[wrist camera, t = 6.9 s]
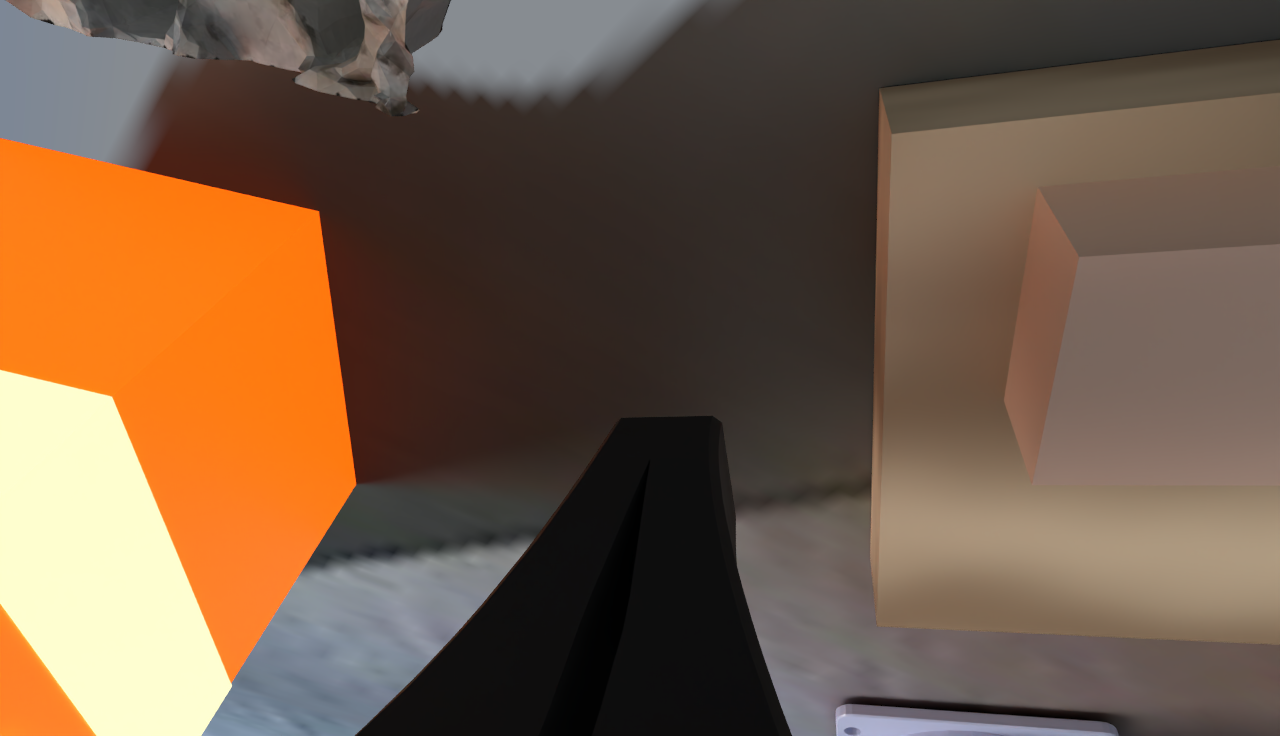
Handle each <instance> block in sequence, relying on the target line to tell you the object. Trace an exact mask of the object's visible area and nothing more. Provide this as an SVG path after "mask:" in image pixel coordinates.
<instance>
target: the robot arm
mask: <svg viewBox="0 0 1280 736" xmlns="http://www.w3.org/2000/svg"><path fill="white" fill-rule="evenodd" d="M355 736H792V735H791V732H790V729H789V727H788V724H787V721H786V719H785V716H784V714H783V711H782V708H781V705H780V703H779V700H778V697H777V694H776V691H775V688H774V686H773V683H772V680H771V677H770V674H769V671H768V669H767V666H766V663H765V660H764V657H763V654H762V651H761V648H760V645H759V641H758V638H757V635H756V632H755V629H754V625H753V622H752V619H751V615H750V612H749V609H748V605H747V602H746V598H745V595H744V591H743V588H742V584H741V580H740V577H739V573H738V569H737V561H736V515H735V508H734V501H733V495H732V488H731V481H730V474H729V467H728V460H727V454H726V447H725V440H724V433H723V426H722V422H720V421H719V420H717V419H716V418H715V417H713V416H688V417H642V418H621V419H620V420H619V421H618V422H617V423H616V424H615V425H614V426H613V428H612V429H611V431H610V432H609V434H608V436H607V437H606V439H605V440H604V442H603V443H602V445H601V446H600V448H599V449H598V451H597V452H596V454H595V455H594V457H593V458H592V460H591V461H590V463H589V464H588V466H587V467H586V469H585V470H584V472H583V473H582V474H581V476H580V477H579V479H578V480H577V482H576V483H575V484H574V486H573V487H572V489H571V490H570V492H569V493H568V495H567V496H566V497H565V499H564V500H563V502H562V503H561V504H560V506H559V507H558V508H557V510H556V511H555V512H554V514H553V515H552V516H551V518H550V519H549V520H548V522H547V523H546V525H545V526H544V527H543V529H542V530H541V531H540V533H539V534H538V535H537V537H536V538H535V539H534V541H533V542H532V543H531V545H530V546H529V547H528V549H527V550H526V551H525V552H524V554H523V555H522V556H521V557H520V559H519V560H518V561H517V562H516V564H515V565H514V566H513V567H512V568H511V570H510V571H509V572H508V573H507V575H506V576H505V577H504V578H503V579H502V581H501V582H500V583H499V584H498V586H497V587H496V588H495V589H494V590H493V592H492V593H491V594H490V595H489V597H488V598H487V599H486V600H485V601H484V603H483V604H482V605H481V606H480V607H479V609H478V610H477V611H476V612H475V613H474V614H473V615H472V616H471V618H470V619H469V620H468V621H467V622H466V623H465V624H464V626H463V627H462V628H461V629H460V630H459V631H458V632H457V633H456V634H455V636H454V637H453V638H452V639H451V640H450V641H449V642H448V643H447V644H446V645H445V646H444V647H443V649H442V650H441V651H440V652H439V653H438V654H437V655H436V656H435V657H434V658H433V659H432V660H431V661H430V662H429V663H428V664H427V665H426V666H425V667H424V669H423V670H422V671H421V672H420V673H419V674H418V675H417V676H416V677H415V678H414V679H413V680H412V681H411V682H410V683H409V684H408V685H407V686H406V687H405V688H404V689H403V690H402V691H401V692H400V693H399V694H398V695H396V696H395V697H394V698H393V699H392V700H391V701H390V702H389V703H388V704H387V705H386V706H385V707H384V708H383V709H382V710H381V711H380V712H379V713H378V714H377V715H376V716H375V717H374V718H373V719H372V720H371V721H370V722H369V723H368V724H367V725H366V726H365V727H364V728H362V729H361V730H360V731H359V732H358V733H357V734H356V735H355ZM836 736H1119V734H1118V731H1117V729H1116V728H1115V727H1114V726H1113V725H1112V724H1109V723H1107V722H1101V721H1088V720H1074V719H1060V718H1045V717H1031V716H1017V715H1002V714H988V713H974V712H960V711H945V710H931V709H917V708H902V707H888V706H874V705H859V704H845V705H841V706H840V707H838V708H837V709H836Z"/></svg>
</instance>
